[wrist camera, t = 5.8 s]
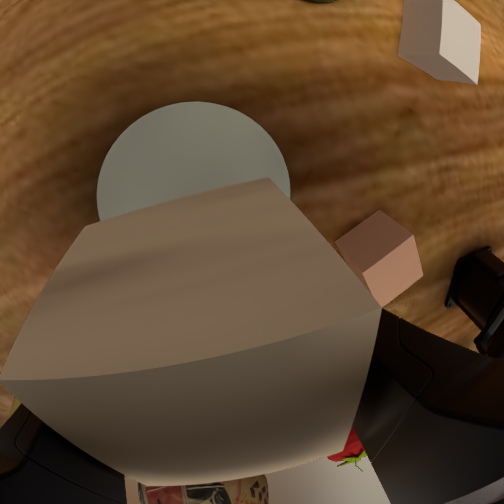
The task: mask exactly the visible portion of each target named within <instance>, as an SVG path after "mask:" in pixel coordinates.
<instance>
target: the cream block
mask: <svg viewBox="0 0 504 504" xmlns="http://www.w3.org/2000/svg"><path fill="white" fill-rule="evenodd" d="M480 42H481V25H480V24H479V23H478V22H477V21H476V20H475V19H474V18H473V17H472V16H471V15H470V14H469V13H468V12H467V11H466V10H465V9H463V8H462V7H461V6H460V5H459V4H458V3H457V2H455V1H454V0H404V9H403V19H402V28H401V36H400V43H399V50H398V56H399V57H400V58H402V59H404V60H406V61H407V62H409V63H411V64H413V65H414V66H416V67H418V68H419V69H421V70H422V71H424V72H426V73H427V74H429V75H430V76H432V77H433V78H435V79H436V80H444V81H454V82H463V83H470V84H477V82H478V73H479V61H480Z"/></svg>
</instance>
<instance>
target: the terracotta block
mask: <svg viewBox="0 0 504 504" xmlns="http://www.w3.org/2000/svg"><path fill="white" fill-rule="evenodd" d="M335 244H336V245H337V247H338V249H339V251H340V253H341V254H342V256H343V258H344V260H345V262H346V264H347V265H348V266H349V267H350V269H351V270H352V271H353V272H354V273H355V275H356V276H357V277H358V278H359V280H360V281H361V282H362V283H363V284H364V286H365V287H366V288H367V289H368V291H369V292H370V293H371V294H372V296H373V297H374V298H375V299H376V301H377V302H378V303H379V305H380V306H381V307H383V306H385V305H386V304H387V303H389V302H390V301H391V300H393V299H394V298H395V297H397V296H398V295H399V294H401V293H402V292H403V291H405V290H406V289H407V288H408V287H410V286H411V285H412V284H413V283H415V282H416V281H417V280H418V279H420V278H421V277H422V276H423V272H422V267H421V263H420V259H419V255H418V250H417V247H416V243H415V239H414V235H413V234H412V233H411V232H409V231H408V230H407V229H405V228H404V227H403V226H401V225H400V224H399V223H397V222H396V221H395V220H393V219H392V218H391V217H389V216H388V215H387V214H385V213H384V212H382V211H381V210H380V209H379V210H378V211H376V212H375V213H374V214H372V215H371V216H369V217H368V218H367V219H365V220H364V221H363V222H361V223H360V224H358V225H357V226H356V227H354V228H353V229H351V230H350V231H349V232H347V233H346V234H344V235H343V236H342V237H340V238H339V239H337V240H336V241H335Z"/></svg>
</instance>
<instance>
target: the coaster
mask: <svg viewBox="0 0 504 504" xmlns="http://www.w3.org/2000/svg"><path fill="white" fill-rule="evenodd" d="M266 177H269V178H270V179H271V180H272V181H273V182H274V183H275V184H276V185H277V186H278V187H279V188H280V189H281V190H282V191H283V193H284V194H285V195H286V196H287V197H288V198H289V199H290V180H289V175H288V170H287V167H286V164H285V161H284V158H283V156H282V154H281V152H280V150H279V148H278V146H277V145H276V143H275V142H274V141H273V139H272V138H271V136H270V135H269V134H268V133H267V132H266V131H265V130H264V129H263V128H262V127H261V126H260V125H259V124H257V123H256V122H255V121H254V120H252V119H251V118H249V117H248V116H246V115H244V114H242V113H241V112H239V111H237V110H234V109H232V108H229V107H226V106H223V105H219V104H215V103H208V102H182V103H177V104H172V105H167V106H165V107H162V108H159V109H156V110H154V111H152V112H150V113H148V114H146V115H144V116H142V117H141V118H139V119H138V120H137V121H135V122H134V123H133V124H131V125H130V126H129V127H128V128H127V129H126V130H125V131H124V132H123V133H122V134H121V135H120V136H119V137H118V139H117V140H116V141H115V142H114V144H113V145H112V147H111V148H110V150H109V152H108V154H107V155H106V157H105V160H104V162H103V165H102V167H101V170H100V174H99V179H98V185H97V207H98V213H99V218H100V221H103V220H106V219H109V218H112V217H115V216H118V215H122V214H125V213H128V212H131V211H135V210H138V209H141V208H145V207H148V206H152V205H155V204H159V203H163V202H166V201H170V200H173V199H177V198H181V197H185V196H189V195H193V194H196V193H200V192H204V191H209V190H213V189H217V188H221V187H225V186H230V185H234V184H238V183H243V182H247V181H252V180H257V179H261V178H266Z"/></svg>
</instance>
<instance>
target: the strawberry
mask: <svg viewBox="0 0 504 504" xmlns="http://www.w3.org/2000/svg"><path fill="white" fill-rule="evenodd" d="M365 456H367V454H366V452H365V450H364V448H363V446H362V444H361V442H360V440H359V438H358V436H357V434H356V432H355V430H354V428H353V426H352V427H351V430H350V433H349V435H348V438H347V441H346V444H345V446H344V449H343V451H341V452H339V453H336V454H333V455H330V456H327V458H328V459H329V460H332V461H336V462H337V461H344V460H345V462H344V463H342V464H340V465H338V466H342V465H345V464H349V463H352V462H355V464H356V463H357V462H358V461H360V460H361V458H362V457H365ZM355 466H356V465H355ZM357 467H358V466H357ZM358 468H359V467H358ZM359 469H360V468H359ZM360 470H361V469H360ZM361 471H362V470H361ZM362 472H363V471H362Z"/></svg>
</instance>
